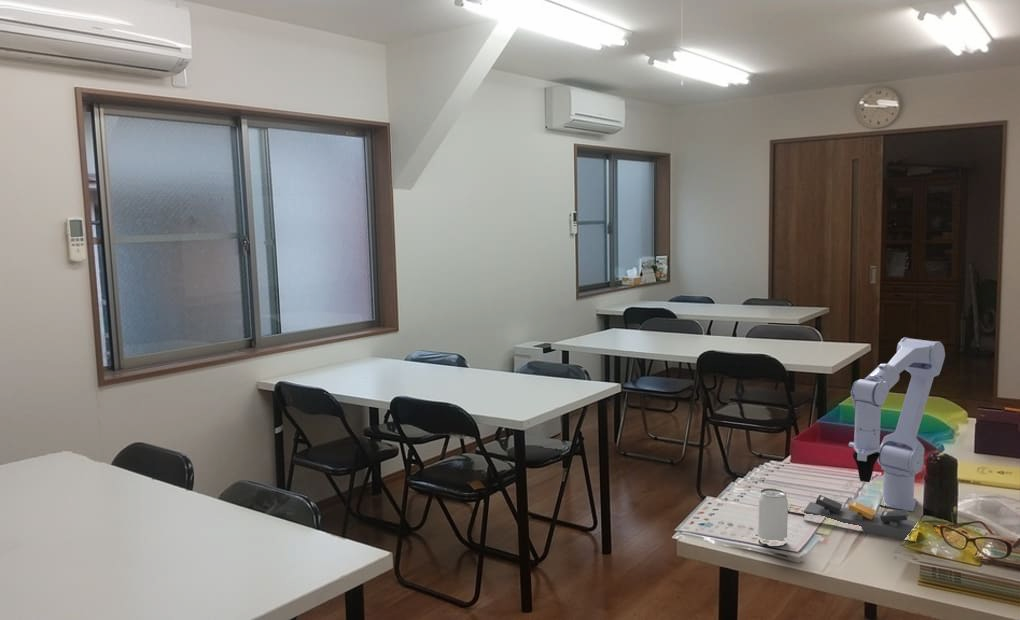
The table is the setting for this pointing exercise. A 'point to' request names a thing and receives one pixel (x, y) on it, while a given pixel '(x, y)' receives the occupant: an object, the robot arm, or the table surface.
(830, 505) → the black rocker
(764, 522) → the can
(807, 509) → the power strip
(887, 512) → the black rocker
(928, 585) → the table surface
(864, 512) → the orange rocker
